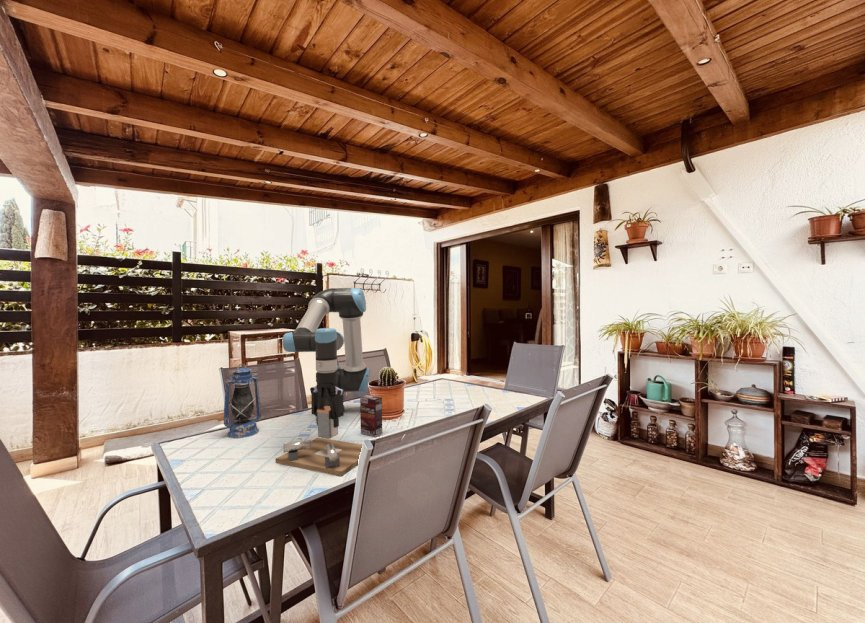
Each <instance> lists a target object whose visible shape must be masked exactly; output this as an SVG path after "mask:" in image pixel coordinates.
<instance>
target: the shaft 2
mask: <svg viewBox="0 0 865 623" xmlns="http://www.w3.org/2000/svg"><path fill="white" fill-rule="evenodd" d="M326 451H327V454H328V457H325V467H326V469H327V468H333V467H339V466H340V458H339V456H338V455H337V453H336V450H335V447H334V445H333V444H331V443H330V444H328V445H327V446H326Z"/></svg>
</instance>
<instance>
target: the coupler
mask: <svg viewBox="0 0 865 623" xmlns="http://www.w3.org/2000/svg"><path fill="white" fill-rule="evenodd" d="M317 416H318V425H317V438H324V439H330V440H331V438H333V437H331V418H333V417H332V413H331V408H330V406H325V407H322V408H320V409H317ZM337 435H339V426H338V427H337Z"/></svg>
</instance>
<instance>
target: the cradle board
mask: <svg viewBox="0 0 865 623" xmlns="http://www.w3.org/2000/svg"><path fill="white" fill-rule="evenodd" d="M330 443H331V444H333V445H334V447H335V450H336V453H337V455H338V456H339V458H340V466H339V467H333V468H327V469H326V467H325V457H328V454H327V451H326V446H327V445H328V444H330ZM362 445H363V444H359V443H354V442H349V441H341V440H335V439H331V438H330V439H327V438H321V437H316V438H314V439H312V440H311V448H310V449H303V450H298V460H293V461H289V459H288V452H285V453H283V454H281V455H280V456H278V457H276V458H275V463H276V464H280V465H285V466H290V467H295V468H300V469H304V470H309V471H314V472H319V473H324V474H330V475H335V476H339V477H343V476H344V475H345V474H347V473H348V472H350V471H351V470H353V469H354V468H355V467H357V466H359V464H358V459H359V455H360V452H361V448H362Z"/></svg>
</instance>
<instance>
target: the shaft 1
mask: <svg viewBox="0 0 865 623" xmlns="http://www.w3.org/2000/svg"><path fill="white" fill-rule="evenodd" d="M311 441H312V440H311V439H309V440H304V441H303V440H301V441H295V442H294V441H293V442H287V443H283V453H288V459H289V461H293V460H298V450H303V449H310V448H311Z"/></svg>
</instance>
